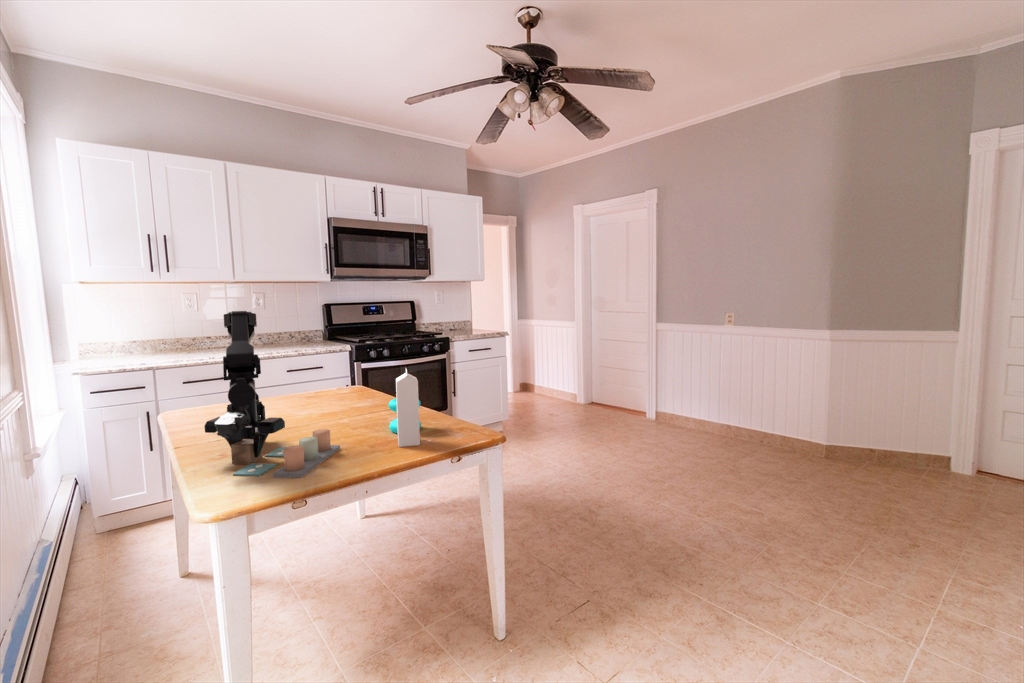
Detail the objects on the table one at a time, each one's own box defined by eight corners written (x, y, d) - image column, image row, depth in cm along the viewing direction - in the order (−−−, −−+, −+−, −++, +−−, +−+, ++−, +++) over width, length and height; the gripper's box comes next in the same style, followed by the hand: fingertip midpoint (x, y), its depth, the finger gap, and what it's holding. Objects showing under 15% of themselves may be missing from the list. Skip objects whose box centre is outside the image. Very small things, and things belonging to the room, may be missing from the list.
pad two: (232, 475, 113) (232, 472, 113) (251, 464, 120) (251, 462, 120) (260, 476, 112) (260, 473, 112) (277, 465, 119) (277, 463, 119)
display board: (273, 477, 111) (271, 452, 111) (316, 448, 132) (315, 427, 132) (301, 477, 111) (299, 453, 110) (340, 448, 132) (339, 428, 131)
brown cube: (232, 463, 121) (230, 445, 120) (244, 457, 126) (243, 439, 125) (250, 464, 120) (249, 445, 120) (262, 457, 125) (261, 439, 125)
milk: (398, 447, 133) (395, 371, 130) (397, 441, 138) (394, 367, 136) (420, 445, 134) (417, 369, 132) (418, 438, 140) (415, 366, 138)
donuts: (415, 403, 143) (383, 403, 144) (416, 435, 144) (384, 434, 145) (424, 396, 153) (394, 396, 154) (424, 425, 154) (395, 425, 155)
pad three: (265, 456, 126) (265, 454, 126) (280, 448, 133) (279, 446, 133) (290, 457, 125) (290, 455, 125) (303, 448, 132) (303, 446, 132)
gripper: (185, 405, 114) (190, 467, 116) (258, 406, 113) (262, 468, 114) (217, 395, 125) (221, 452, 127) (284, 396, 124) (287, 453, 125)
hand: (247, 456), depth 123 cm, fingers closed on brown cube, 5 cm apart
